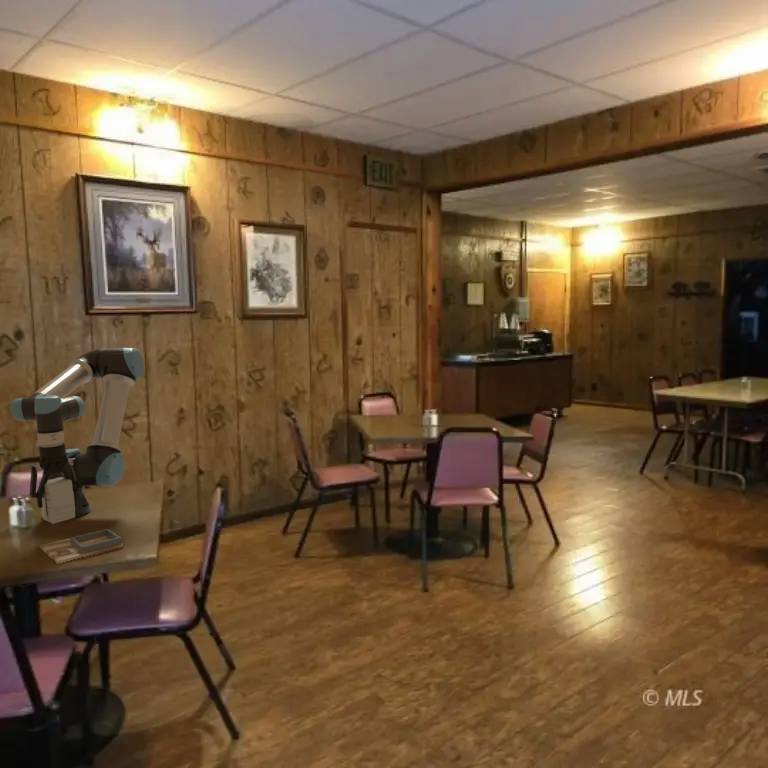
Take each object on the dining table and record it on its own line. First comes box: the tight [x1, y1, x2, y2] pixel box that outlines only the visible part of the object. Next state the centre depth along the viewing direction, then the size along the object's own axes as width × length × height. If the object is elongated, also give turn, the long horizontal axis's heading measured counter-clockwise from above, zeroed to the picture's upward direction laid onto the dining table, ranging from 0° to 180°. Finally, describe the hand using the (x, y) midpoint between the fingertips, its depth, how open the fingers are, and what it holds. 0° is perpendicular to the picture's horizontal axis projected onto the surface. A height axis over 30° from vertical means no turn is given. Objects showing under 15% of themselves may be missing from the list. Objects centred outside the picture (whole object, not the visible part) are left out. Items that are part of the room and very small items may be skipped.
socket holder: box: [70, 528, 123, 554], centre depth 201 cm, size 12×12×2 cm
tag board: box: [39, 536, 124, 565], centre depth 201 cm, size 18×19×1 cm
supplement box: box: [38, 477, 76, 524], centre depth 209 cm, size 7×7×13 cm
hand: (58, 513), depth 209 cm, fingers closed on supplement box, 8 cm apart
